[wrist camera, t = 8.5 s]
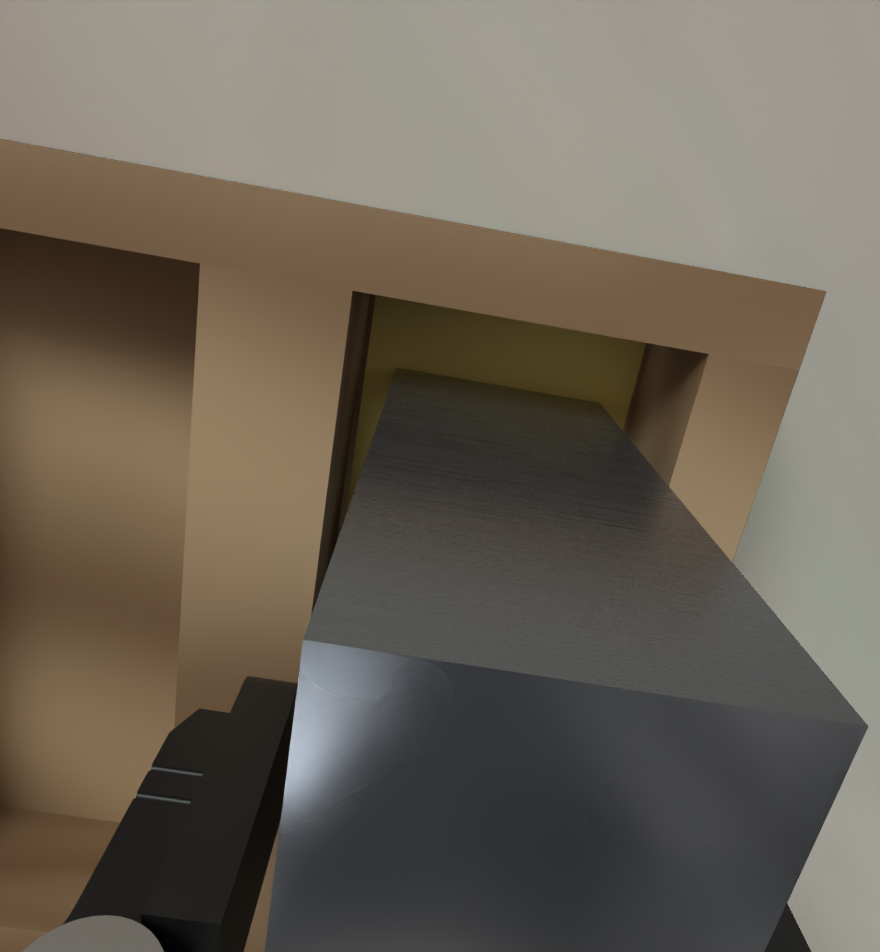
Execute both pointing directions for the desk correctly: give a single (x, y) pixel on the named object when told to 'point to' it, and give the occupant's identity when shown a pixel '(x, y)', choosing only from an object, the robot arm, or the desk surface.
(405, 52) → the desk surface
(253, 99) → the desk surface
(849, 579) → the desk surface
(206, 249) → the rack
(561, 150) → the desk surface
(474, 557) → the rectangular block
